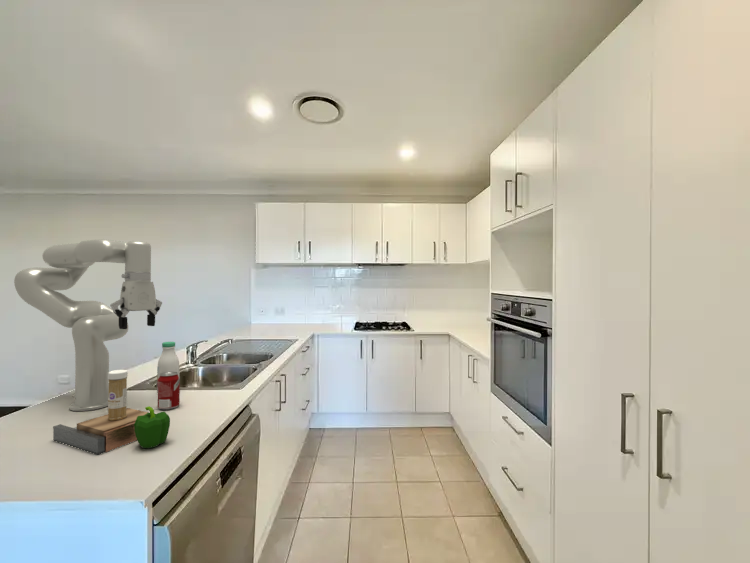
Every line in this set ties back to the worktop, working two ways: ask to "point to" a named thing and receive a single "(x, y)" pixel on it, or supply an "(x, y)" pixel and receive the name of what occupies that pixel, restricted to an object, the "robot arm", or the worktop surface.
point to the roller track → (95, 438)
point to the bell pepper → (151, 428)
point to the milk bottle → (167, 360)
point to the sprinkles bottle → (117, 394)
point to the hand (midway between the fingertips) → (137, 327)
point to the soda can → (168, 390)
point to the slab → (108, 422)
